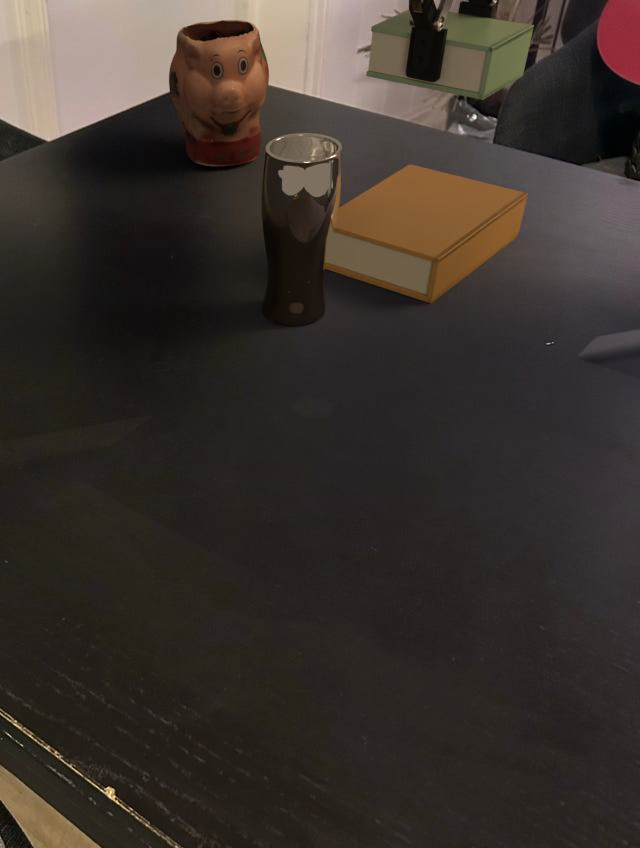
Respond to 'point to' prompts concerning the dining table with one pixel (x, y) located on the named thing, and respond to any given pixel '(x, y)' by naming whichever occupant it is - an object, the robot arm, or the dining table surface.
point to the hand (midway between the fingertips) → (445, 65)
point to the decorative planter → (219, 90)
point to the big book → (423, 231)
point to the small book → (456, 54)
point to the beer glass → (299, 223)
